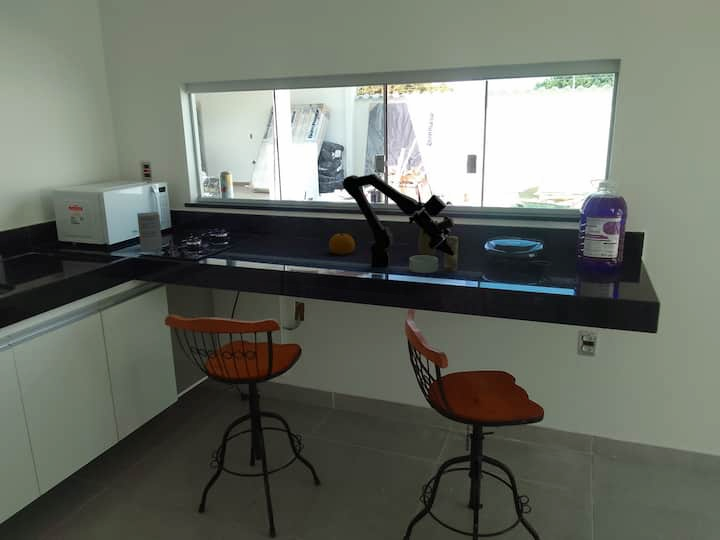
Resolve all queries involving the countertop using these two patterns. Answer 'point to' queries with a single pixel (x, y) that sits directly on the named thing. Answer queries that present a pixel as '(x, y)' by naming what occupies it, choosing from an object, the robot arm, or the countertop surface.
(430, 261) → the celadon cup
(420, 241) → the squeeze bottle
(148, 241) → the supplement box
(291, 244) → the countertop surface
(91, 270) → the countertop surface
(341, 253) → the fruit
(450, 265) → the birch post
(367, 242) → the countertop surface
